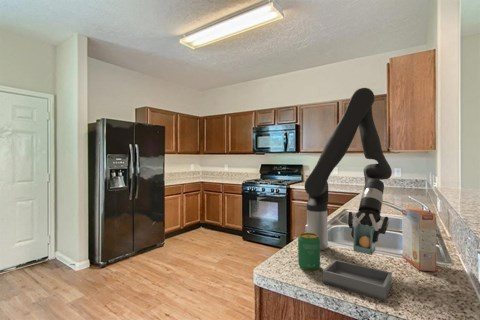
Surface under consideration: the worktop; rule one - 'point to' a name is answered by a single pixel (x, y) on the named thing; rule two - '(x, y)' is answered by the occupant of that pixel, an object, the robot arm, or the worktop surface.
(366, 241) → the ball
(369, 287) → the tray
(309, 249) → the beverage can
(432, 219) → the cracker box
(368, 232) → the teal open-sided box
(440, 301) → the worktop surface
